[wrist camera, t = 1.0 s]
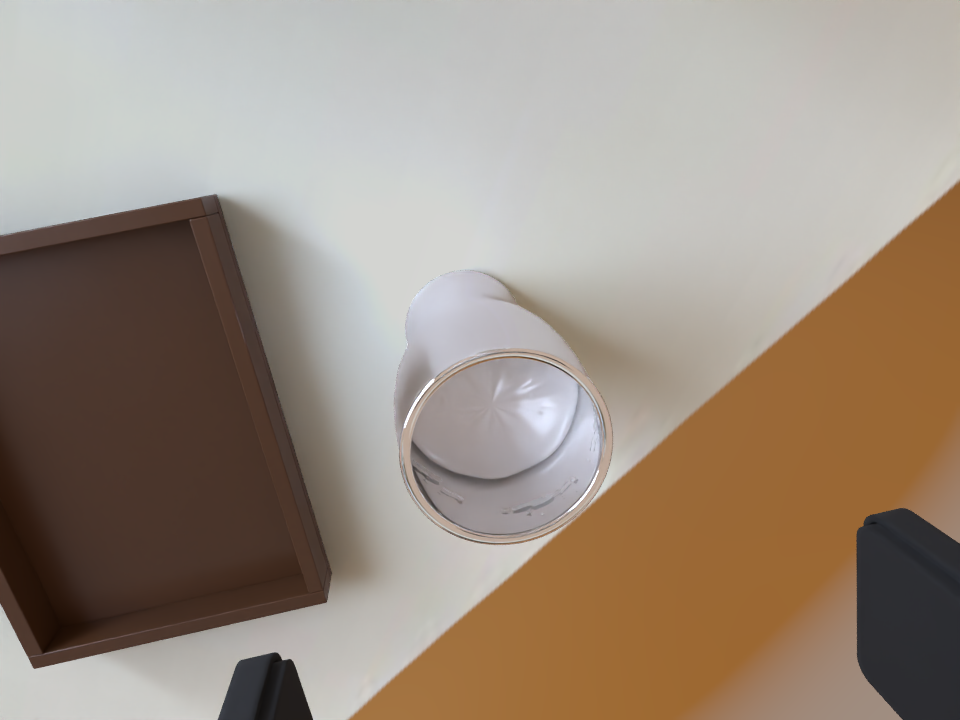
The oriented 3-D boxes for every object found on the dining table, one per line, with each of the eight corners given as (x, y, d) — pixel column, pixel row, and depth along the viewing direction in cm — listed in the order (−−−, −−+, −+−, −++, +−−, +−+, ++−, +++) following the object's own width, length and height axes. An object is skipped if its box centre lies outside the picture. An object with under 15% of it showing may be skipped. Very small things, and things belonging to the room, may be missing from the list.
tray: (-123, 259, 29) (-172, 268, 27) (217, 194, 30) (200, 197, 28) (58, 634, 36) (33, 669, 34) (332, 573, 37) (327, 602, 35)
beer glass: (496, 407, 35) (560, 577, 21) (376, 362, 34) (357, 513, 19) (551, 291, 34) (660, 390, 19) (427, 239, 32) (447, 304, 18)
